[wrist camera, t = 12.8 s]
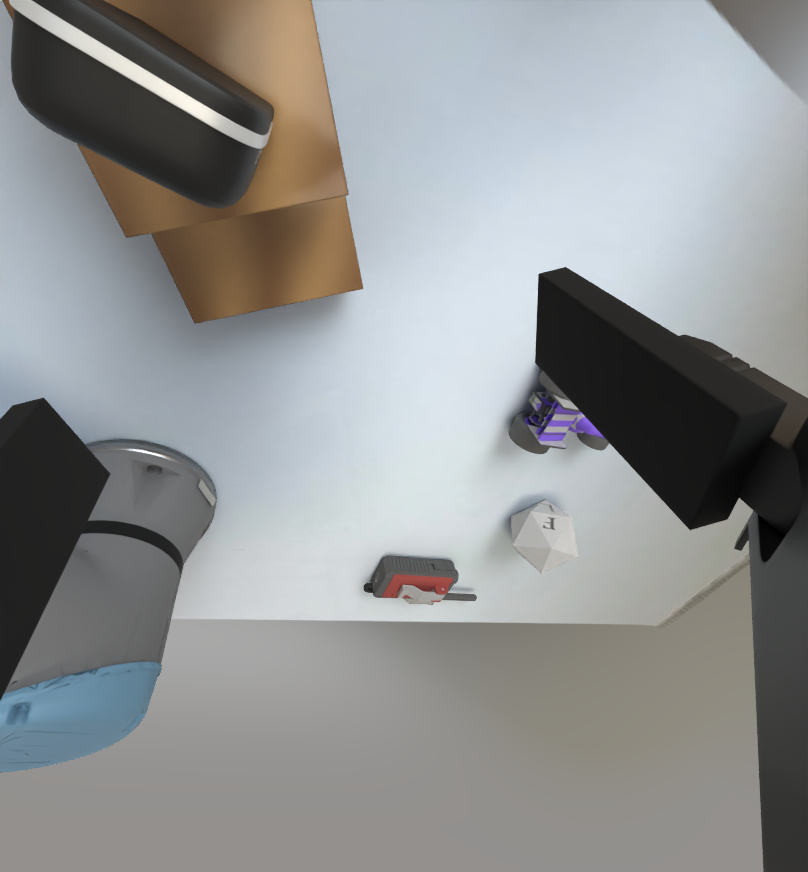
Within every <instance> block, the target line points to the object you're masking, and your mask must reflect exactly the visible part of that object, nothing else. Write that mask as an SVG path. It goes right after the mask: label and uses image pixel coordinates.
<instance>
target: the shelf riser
mask: <svg viewBox="0 0 808 872" xmlns="http://www.w3.org/2000/svg"><path fill="white" fill-rule="evenodd" d="M2 1H3V2H4V4H5V6H6V8H7V10H8V12H9V14H10V16H11V18H12V20H13V15H14V8H13V7H12V6H11V5H10V3H9V0H2ZM104 1H106V2H108V3H110V4H112V5H113V6H115V7H117V8H119V9H121V10H123V11H125V12H127V13H129V14H131V15H133V16H135V17H137V18H139V19H140V20H142V21H144V22H145V23H147V24H148V25H150V26H151V27H153V28H154V29H156V30H157V31H159V32H161V33H162V34H164V35H165V36H167V37H168V38H170V39H171V40H173V41H174V42H176V43H178V44H179V45H181V46H182V47H184V48H185V49H187V50H188V51H190V52H192V53H193V54H195V55H196V56H198V57H199V58H201V59H202V60H204V61H205V62H207V63H209V64H210V65H212V66H213V67H215V68H216V69H218V70H219V71H221V72H222V73H224V74H226V75H227V76H229V77H230V78H232V79H233V80H235V81H236V82H238V83H239V84H241V85H242V86H244V87H246V88H247V89H249V90H250V91H252V92H253V93H255V94H256V95H258V96H259V97H261V98H263V99H264V100H266V101H267V102H269V103H270V104H271V105H272V106H273V108H274V117H273V120H272V122H273V127H272V130H271V133H270V136H269V139H268V142H267V144H266V146H265V147H263V150H262V153H261V156H260V159H259V162H258V165H257V168H256V171H255V174H254V177H253V179H252V181H251V184H250V186H249V188H248V190H247V192H246V193H245V194H244V196H243V197H242V198H241V199H240V200H239V201H238V202H236V203H235V204H234V205H232V206H228V207H225V208H222V209H221V208H212V207H206V206H203V205H200V204H198V203H196V202H194V201H191V200H189V199H187V198H185V197H183V196H181V195H179V194H177V193H175V192H173V191H171V190H169V189H167V188H165V187H163V186H161V185H159V184H157V183H155V182H153V181H151V180H149V179H147V178H145V177H143V176H141V175H139V174H137V173H135V172H133V171H131V170H129V169H127V168H125V167H123V166H121V165H119V164H117V163H115V162H113V161H111V160H109V159H107V158H105V157H103V156H101V155H99V154H97V153H95V152H93V151H91V150H89V149H87V148H85V147H83V146H81V145H79V144H78V146H79V148H80V150H81V152H82V154H83V156H84V158H85V160H86V162H87V163H88V165H89V167H90V169H91V171H92V173H93V175H94V177H95V179H96V181H97V183H98V185H99V186H100V188H101V190H102V192H103V194H104V196H105V198H106V200H107V202H108V204H109V206H110V207H111V209H112V211H113V213H114V215H115V217H116V219H117V221H118V223H119V225H120V227H121V229H122V230H123V232H124V234H125V236H126V237H127V238H128V237H133V236H138V235H144V234H149V233H151V234H152V236H153V238H154V240H155V243H156V245H157V247H158V249H159V251H160V253H161V255H162V257H163V259H164V261H165V263H166V265H167V267H168V269H169V272H170V274H171V276H172V278H173V280H174V282H175V284H176V286H177V288H178V290H179V292H180V294H181V296H182V298H183V300H184V303H185V305H186V307H187V309H188V311H189V313H190V315H191V317H192V319H193V321H194V323H195V324H196V323H201V322H205V321H210V320H215V319H220V318H225V317H229V316H234V315H239V314H244V313H249V312H254V311H258V310H263V309H268V308H273V307H278V306H283V305H287V304H292V303H297V302H302V301H307V300H311V299H316V298H321V297H326V296H331V295H336V294H340V293H345V292H350V291H355V290H360V289H363V284H362V279H361V274H360V269H359V264H358V259H357V254H356V249H355V244H354V239H353V234H352V229H351V224H350V218H349V213H348V208H347V203H346V198H345V196H347V195H348V189H347V184H346V178H345V173H344V168H343V163H342V158H341V152H340V147H339V142H338V137H337V132H336V126H335V121H334V116H333V111H332V105H331V100H330V95H329V90H328V85H327V79H326V74H325V69H324V64H323V59H322V53H321V48H320V43H319V38H318V32H317V27H316V22H315V17H314V12H313V6H312V1H311V0H104Z"/></svg>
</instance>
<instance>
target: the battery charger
mask: <svg viewBox="0 0 808 872" xmlns="http://www.w3.org/2000/svg"><path fill="white" fill-rule="evenodd" d="M9 3H10V5H11V6H12V7H13V8H14V15H13V32H12V50H11V71H12V82H13V85H14V88H15V90H16V93H17V96H18V98H19V100H20V102H21V103H22V104H23V106H24V107H25V108H26V109H27V111H28V112H29V113H30V114H31V115H32V116H34V117H35V118H36V119H37V120H39V121H40V122H41V123H42V124H44V125H45V126H46V127H47V128H49V129H51V130H52V131H54V132H56V133H58V134H60V135H62V136H63V137H65V138H67V139H69V140H71V141H73V142H75V143H77V144H79V145H81V146H83V147H85V148H87V149H89V150H91V151H93V152H95V153H97V154H99V155H101V156H103V157H105V158H107V159H109V160H111V161H113V162H115V163H117V164H119V165H121V166H123V167H125V168H127V169H129V170H131V171H133V172H135V173H137V174H139V175H141V176H143V177H145V178H147V179H149V180H151V181H153V182H155V183H157V184H159V185H161V186H163V187H165V188H167V189H169V190H171V191H173V192H175V193H177V194H179V195H181V196H183V197H185V198H187V199H189V200H191V201H194V202H196V203H198V204H200V205H203V206H206V207H212V208H221V209H222V208H225V207H228V206H232V205H234V204H235V203H236V202H238V201H239V200H240V199H241V198H242V197H243V196H244V194H245V193H246V192H247V190H248V188H249V186H250V184H251V181H252V179H253V177H254V174H255V171H256V168H257V165H258V162H259V159H260V156H261V153H262V150H263V147H265V146H266V144H267V142H268V139H269V136H270V133H271V130H272V127H273V122H272V120H273V117H274V108H273V106H272V105H271V104H270V103H269V102H267V101H266V100H264V99H263V98H261V97H259V96H258V95H256V94H255V93H253V92H252V91H250V90H249V89H247V88H246V87H244V86H242V85H241V84H239V83H238V82H236V81H235V80H233V79H232V78H230V77H229V76H227V75H226V74H224V73H222V72H221V71H219V70H218V69H216V68H215V67H213V66H212V65H210V64H209V63H207V62H205V61H204V60H202V59H201V58H199V57H198V56H196V55H195V54H193V53H192V52H190V51H188V50H187V49H185V48H184V47H182V46H181V45H179V44H178V43H176V42H174V41H173V40H171V39H170V38H168V37H167V36H165V35H164V34H162V33H161V32H159V31H157V30H156V29H154V28H153V27H151V26H150V25H148V24H147V23H145V22H144V21H142V20H140V19H139V18H137V17H135V16H133V15H131V14H129V13H127V12H125V11H123V10H121V9H119V8H117V7H115V6H113V5H112V4H110V3H108V2H106V1H104V0H9Z"/></svg>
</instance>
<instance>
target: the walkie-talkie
mask: <svg viewBox="0 0 808 872" xmlns="http://www.w3.org/2000/svg"><path fill="white" fill-rule="evenodd" d="M457 581H458V572H457V570H455V567H454V564H453V562H452V561H445V560H432V559H418V558H405V557H392V556H388V557H386V558H383V560H382V561H381V563H380V565H379V567H378V569H377V570H376V572H375V574H374V576H373V578H372V580H371V582H370V583H366V584H365V585H364V591H365V592H368V593H373V596H375V597H379V598H399V599H400V598H403V599H404V600H405V601H407V602H408V603H410V604H428V605H433V603H434V602H440V601H441V600H461V601H475V600H476V599H477V597H476V595H474V594H454V593H448V591H449V590H450V589H451V587H452V586H453V584H455V583H457Z"/></svg>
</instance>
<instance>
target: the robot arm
mask: <svg viewBox="0 0 808 872" xmlns="http://www.w3.org/2000/svg"><path fill="white" fill-rule="evenodd" d="M535 363H536V364H537V365H538V366H539V367H540V368H541V369H542V370H543V372H544V373H545V374H546V375H547V376H548V377H549V378H550V379H551V380H552V381H553V382H554V383H555V385H556V386H557V387H558V388H559V389H560V390H561V391H562V392H563V393H564V394H565V395H566V396H567V397H568V399H569V400H570V401H571V402H572V403H573V404H574V405H575V406H576V407H577V408H578V409H579V410H580V412H581V413H582V414H583V415H584V416H585V417H586V418H587V419H588V420H589V421H590V422H591V423H592V425H593V426H594V427H595V428H596V429H597V430H598V431H599V432H600V433H601V434H602V435H603V436H604V438H605V439H606V440H607V441H608V442H609V443H610V444H611V445H612V446H613V447H614V448H615V449H616V450H617V452H618V453H619V454H620V455H621V456H622V457H623V458H624V459H625V460H626V461H627V462H628V463H629V465H630V466H631V467H632V468H633V469H634V470H635V471H636V472H637V473H638V474H639V475H640V476H641V478H642V479H643V480H644V481H645V482H646V483H647V484H648V485H649V486H650V487H651V488H652V489H653V490H654V492H655V493H656V494H657V495H658V496H659V497H660V498H661V499H662V500H663V501H664V502H665V503H666V505H667V506H668V507H669V508H670V509H671V510H672V511H673V512H674V513H675V514H676V515H677V516H678V518H679V519H680V520H681V521H682V522H683V523H684V524H685V525H686V526H687V527H688V528H689V529H690V530H692V529H695V528H699V527H702V526H706V525H709V524H713V523H716V522H720V521H723V520H727V519H728V517H729V516H730V514H731V512H732V510H733V508H734V506H735V504H736V502H737V500H738V498H740V499H741V500H743V501H744V502H745V503H746V504H747V505H748V506H749V507H750V508H752V509H753V510H754V511H753V513H752V515H751V516H750V518H749V520H748V522H747V523H746V525H745V527H744V529H743V530H742V532H741V534H740V536H739V537H738V539H737V541H736V545H735V548H734V549H737V550H742V549H743V547H744V545H745V544H746V542H747V541H748V540H749V554H750V576H751V599H752V621H753V642H754V643H753V644H754V666H755V689H756V710H757V734H758V756H759V779H760V799H761V800H760V801H761V822H762V823H761V824H762V844H763V845H762V846H763V868H764V872H808V398H806V397H804V396H803V395H801V394H799V393H797V392H796V391H794V390H792V389H791V388H789V387H787V386H785V385H784V384H782V383H780V382H778V381H777V380H775V379H773V378H772V377H770V376H768V375H766V374H765V373H763V372H761V371H759V370H758V369H756V368H750V366H749V364H747V363H746V362H744V361H742V360H741V359H739V358H737V357H735V358H733V357H732V354H730V353H728V352H727V351H725V350H723V349H722V348H720V347H718V346H716V345H715V344H713V343H711V342H708V341H704V340H701V339H698V338H694V337H691V336H688V335H681V336H677V335H676V334H674V333H672V332H671V331H669V330H668V329H666V328H664V327H663V326H661V325H659V324H658V323H656V322H654V321H653V320H651V319H650V318H648V317H646V316H645V315H643V314H641V313H640V312H638V311H637V310H635V309H633V308H632V307H630V306H628V305H627V304H625V303H623V302H622V301H620V300H619V299H617V298H615V297H614V296H612V295H610V294H609V293H607V292H606V291H604V290H602V289H601V288H599V287H597V286H596V285H594V284H592V283H591V282H589V281H588V280H586V279H584V278H583V277H581V276H579V275H578V274H576V273H574V272H573V271H571V270H570V269H568V268H566V267H564V268H560V269H556V270H552V271H548V272H544V273H540V274H539V279H538V305H537V331H536V357H535ZM216 500H217V497H216V490H215V487H214V484H213V482H212V481H211V479H210V477H209V476H208V475H207V473H206V472H205V471H204V470H203V469H202V468H201V467H200V466H199V465H198V464H196V463H195V462H194V461H193V460H191V459H190V458H188V457H186V456H185V455H183V454H181V453H179V452H177V451H175V450H172V449H170V448H167V447H164V446H161V445H158V444H154V443H150V442H144V441H138V440H124V439H119V440H105V441H99V442H94V443H90V444H87V445H85V444H84V443H83V442H82V441H81V440H80V438H79V437H78V436H77V435H76V434H75V433H74V432H73V430H72V429H71V428H70V427H69V426H68V425H67V424H66V423H65V421H64V420H63V419H62V418H61V417H60V416H59V415H58V413H57V412H56V411H55V410H54V409H53V408H52V407H51V405H50V404H49V403H48V402H47V401H46V400H45V399H44V398H41V399H37V400H33V401H29V402H25V403H21V404H17V405H13V406H12V407H11V408H10V409H9V410H8V411H7V412H6V414H5V415H4V416H3V417H2V418H1V419H0V773H1V772H11V771H19V770H27V769H32V768H39V767H43V766H49V765H53V764H57V763H62V762H66V761H69V760H74V759H77V758H80V757H83V756H86V755H89V754H92V753H95V752H97V751H100V750H102V749H104V748H107V747H109V746H111V745H113V744H114V743H117V742H118V741H120V740H121V739H123V738H125V737H126V736H127V735H128V734H129V733H131V732H132V731H133V730H134V729H135V728H136V727H137V726H138V725H139V723H140V722H141V721H142V719H143V717H144V716H145V714H146V711H147V709H148V705H149V702H150V699H151V696H152V693H153V689H154V686H155V683H156V680H157V677H158V676H159V674H160V672H161V670H162V668H161V661H162V657H163V652H164V648H165V643H166V639H167V634H168V630H169V626H170V621H171V617H172V612H173V608H174V603H175V599H176V595H177V590H178V586H179V582H180V578H181V573H182V569H183V565H184V563H185V561H186V560H187V558H188V557H189V555H190V554H191V552H192V550H193V549H194V547H195V546H196V544H197V542H198V541H199V540H200V539H201V538H202V536H203V535H204V534H205V532H206V531H207V529H208V528H209V526H210V524H211V522H212V520H213V517H214V512H215V507H216Z"/></svg>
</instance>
